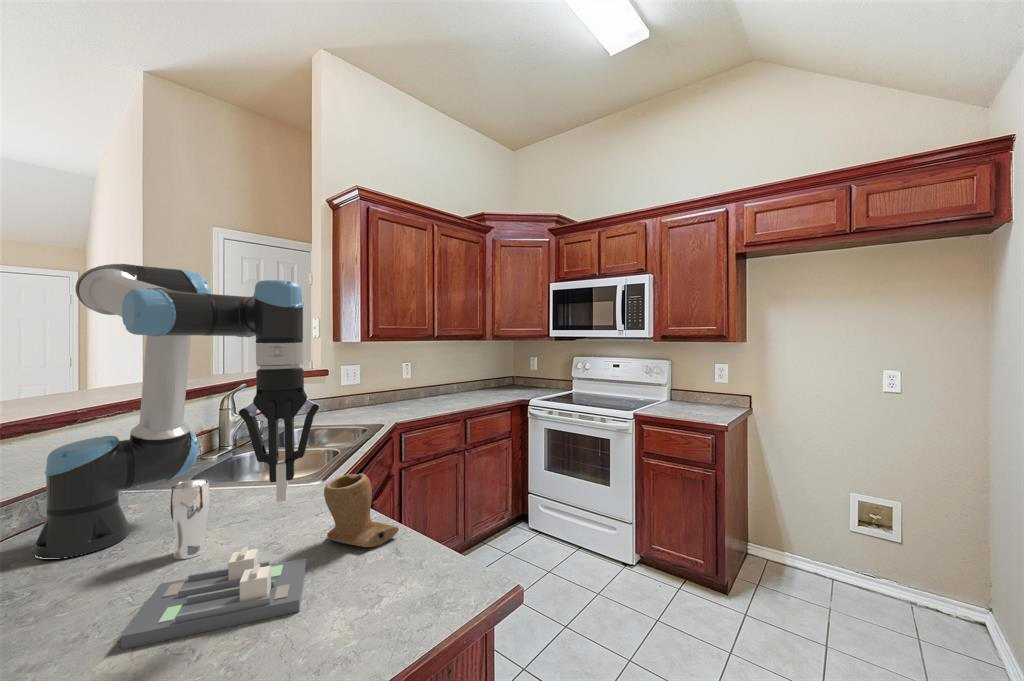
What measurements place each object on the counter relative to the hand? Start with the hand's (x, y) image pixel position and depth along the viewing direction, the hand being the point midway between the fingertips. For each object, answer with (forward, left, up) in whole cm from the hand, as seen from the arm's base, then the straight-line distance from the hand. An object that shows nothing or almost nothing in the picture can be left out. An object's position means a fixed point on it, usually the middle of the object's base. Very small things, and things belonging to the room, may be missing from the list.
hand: (282, 498), depth 76 cm
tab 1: (-7, +6, -16) cm, 19 cm away
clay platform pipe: (+13, +18, -18) cm, 29 cm away
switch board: (-9, +2, -18) cm, 20 cm away
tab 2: (-4, -2, -16) cm, 16 cm away
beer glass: (-21, +26, -18) cm, 38 cm away
